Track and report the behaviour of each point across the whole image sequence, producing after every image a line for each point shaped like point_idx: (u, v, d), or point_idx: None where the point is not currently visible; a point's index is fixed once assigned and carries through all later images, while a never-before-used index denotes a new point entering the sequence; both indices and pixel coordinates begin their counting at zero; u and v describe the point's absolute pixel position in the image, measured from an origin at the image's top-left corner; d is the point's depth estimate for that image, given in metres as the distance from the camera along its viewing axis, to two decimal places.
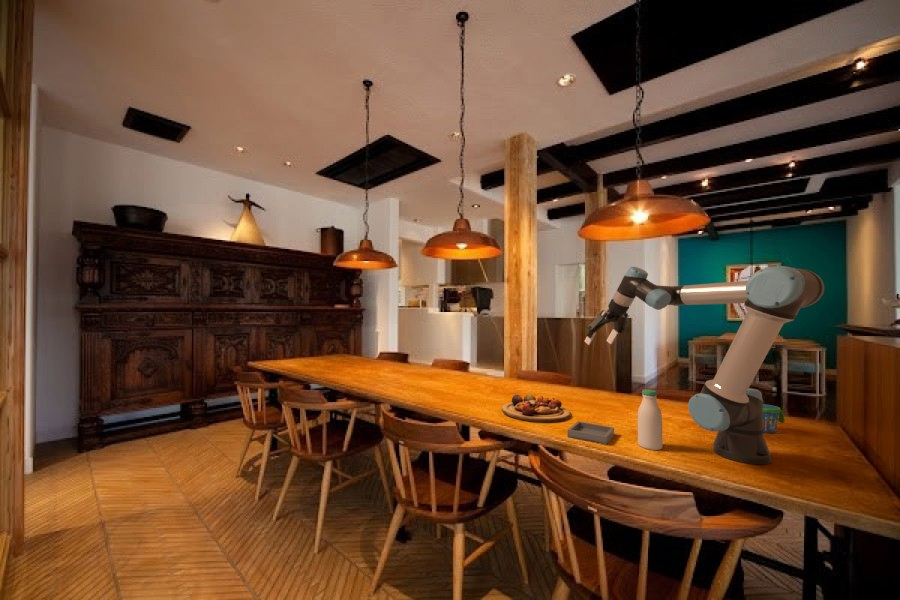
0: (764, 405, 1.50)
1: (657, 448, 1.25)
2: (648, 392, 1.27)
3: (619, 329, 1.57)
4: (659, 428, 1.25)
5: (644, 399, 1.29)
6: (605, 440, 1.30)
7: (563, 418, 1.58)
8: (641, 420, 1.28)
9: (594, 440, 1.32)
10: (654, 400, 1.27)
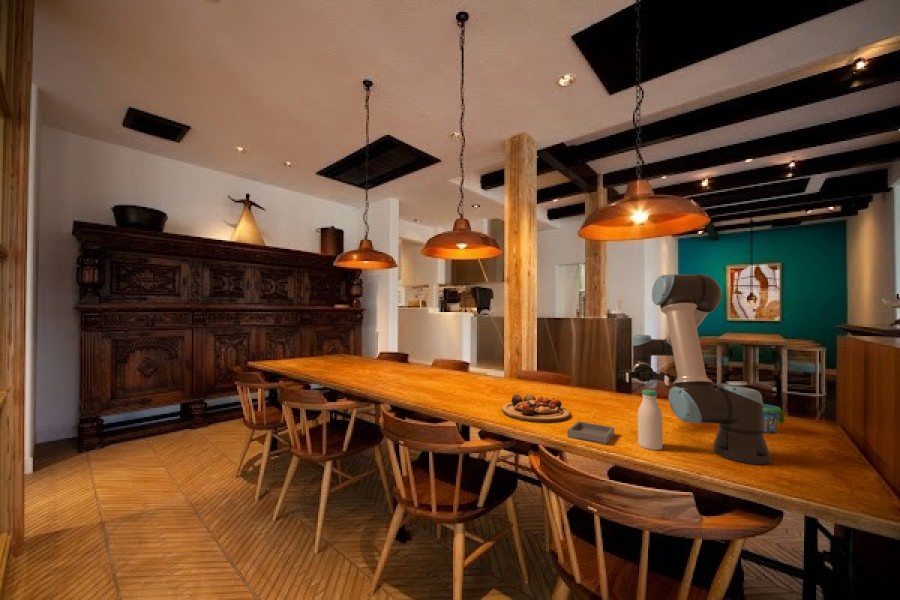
0: (764, 405, 1.50)
1: (657, 448, 1.25)
2: (648, 392, 1.27)
3: (665, 375, 1.42)
4: (659, 428, 1.25)
5: (644, 399, 1.29)
6: (605, 440, 1.30)
7: (563, 418, 1.58)
8: (641, 420, 1.28)
9: (594, 440, 1.32)
10: (654, 400, 1.27)
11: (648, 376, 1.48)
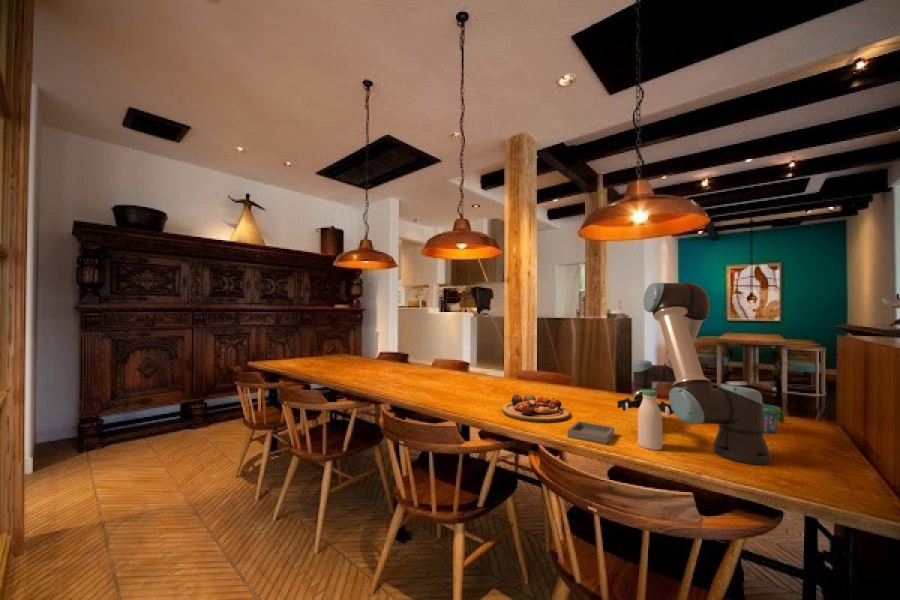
0: (764, 405, 1.50)
1: (657, 448, 1.25)
2: (648, 392, 1.27)
3: (666, 406, 1.38)
4: (659, 428, 1.25)
5: (644, 399, 1.29)
6: (605, 440, 1.30)
7: (563, 418, 1.58)
8: (641, 420, 1.28)
9: (594, 440, 1.32)
10: (654, 400, 1.27)
11: None
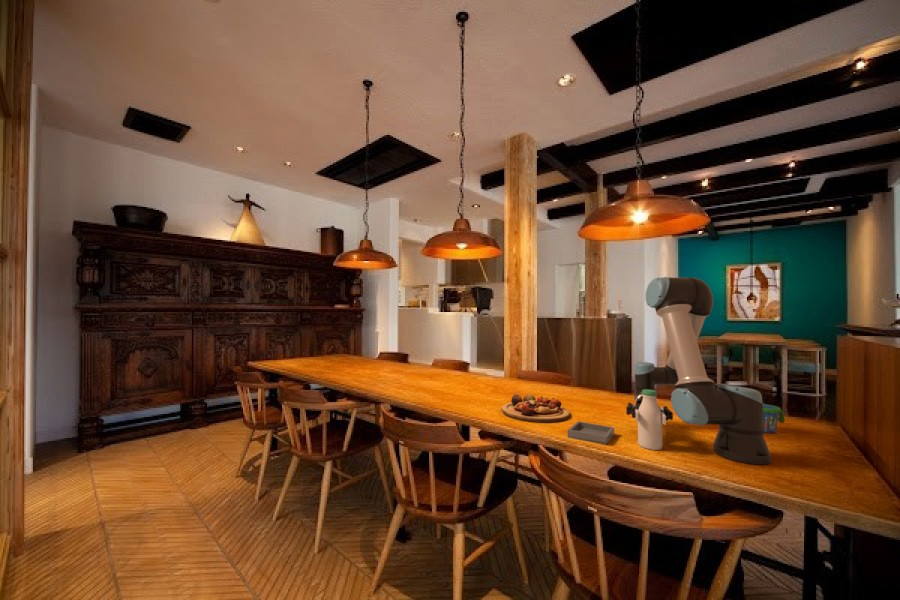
0: (764, 405, 1.50)
1: (657, 448, 1.25)
2: (648, 392, 1.27)
3: (663, 411, 1.30)
4: (659, 428, 1.25)
5: (644, 399, 1.29)
6: (605, 440, 1.30)
7: (562, 418, 1.58)
8: (641, 420, 1.28)
9: (594, 440, 1.32)
10: (654, 400, 1.27)
11: None
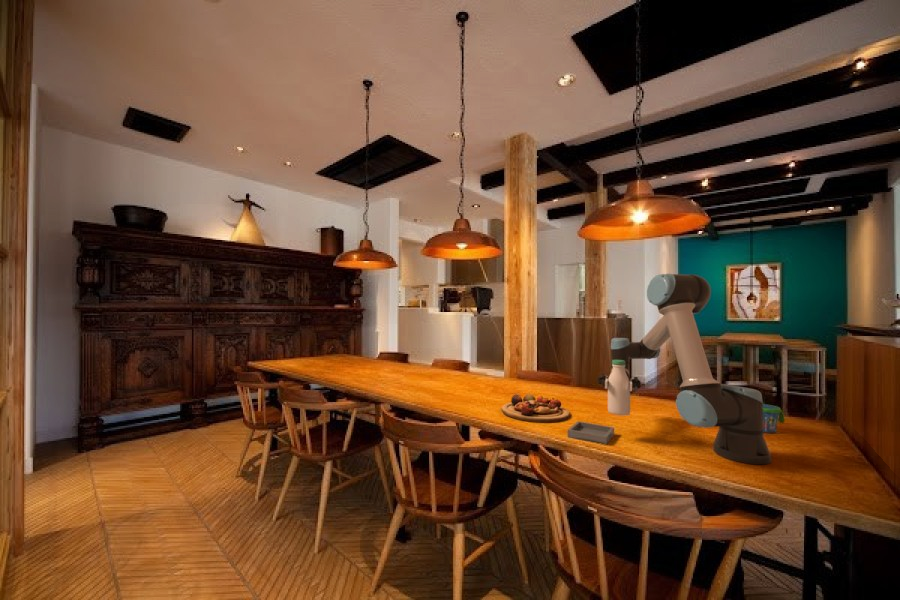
0: (764, 405, 1.50)
1: (624, 413, 1.32)
2: (617, 361, 1.35)
3: (631, 380, 1.38)
4: (626, 395, 1.33)
5: (613, 368, 1.36)
6: (605, 440, 1.30)
7: (562, 418, 1.58)
8: (610, 388, 1.35)
9: (594, 440, 1.32)
10: (622, 369, 1.35)
11: None
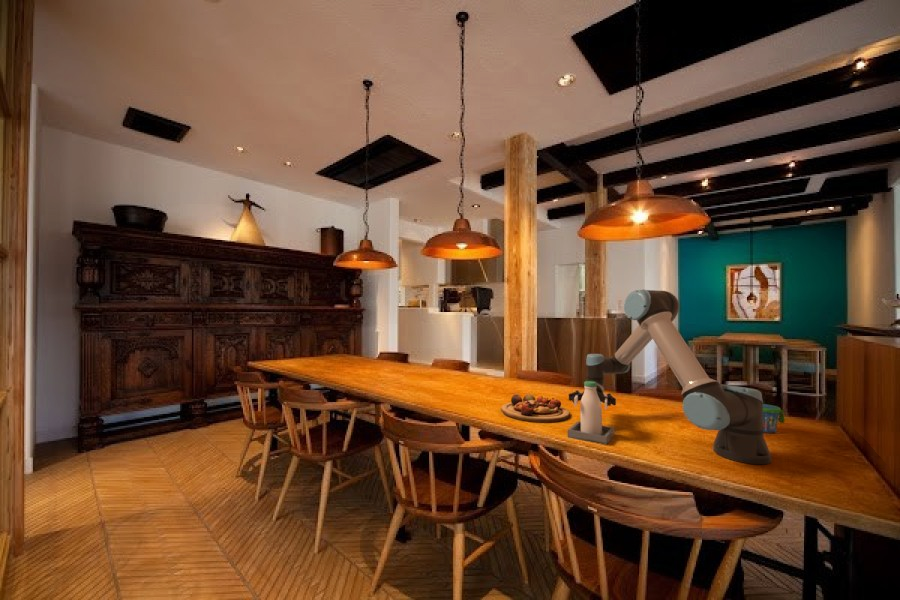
0: (764, 405, 1.50)
1: None
2: (588, 383, 1.38)
3: (607, 397, 1.41)
4: (598, 416, 1.36)
5: (585, 390, 1.40)
6: (605, 440, 1.30)
7: (562, 418, 1.58)
8: (582, 409, 1.39)
9: (594, 440, 1.32)
10: (594, 391, 1.38)
11: None
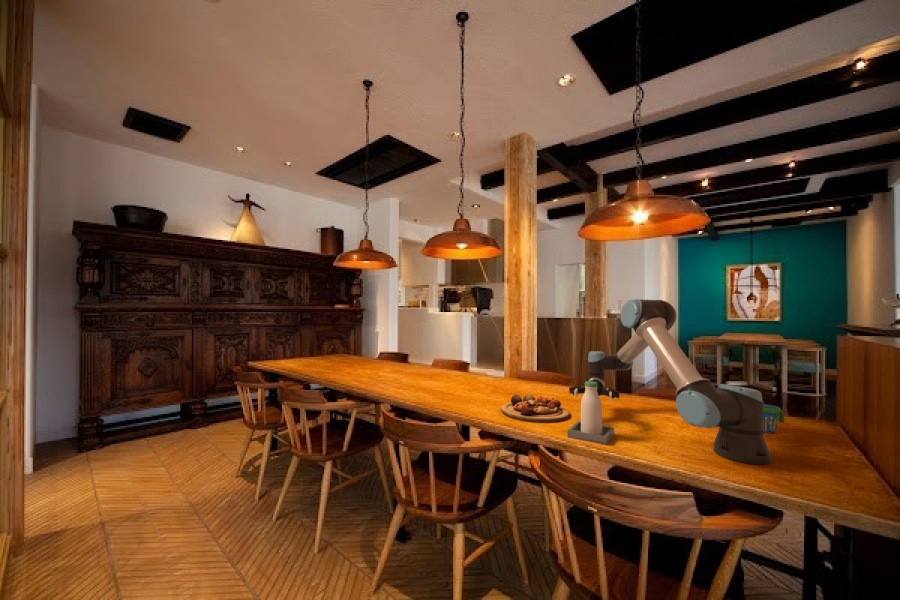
0: (764, 405, 1.50)
1: None
2: (589, 383, 1.38)
3: (610, 391, 1.53)
4: (598, 416, 1.36)
5: (586, 390, 1.40)
6: (605, 440, 1.30)
7: (562, 418, 1.58)
8: (583, 409, 1.39)
9: (594, 440, 1.32)
10: (594, 391, 1.38)
11: (597, 392, 1.59)
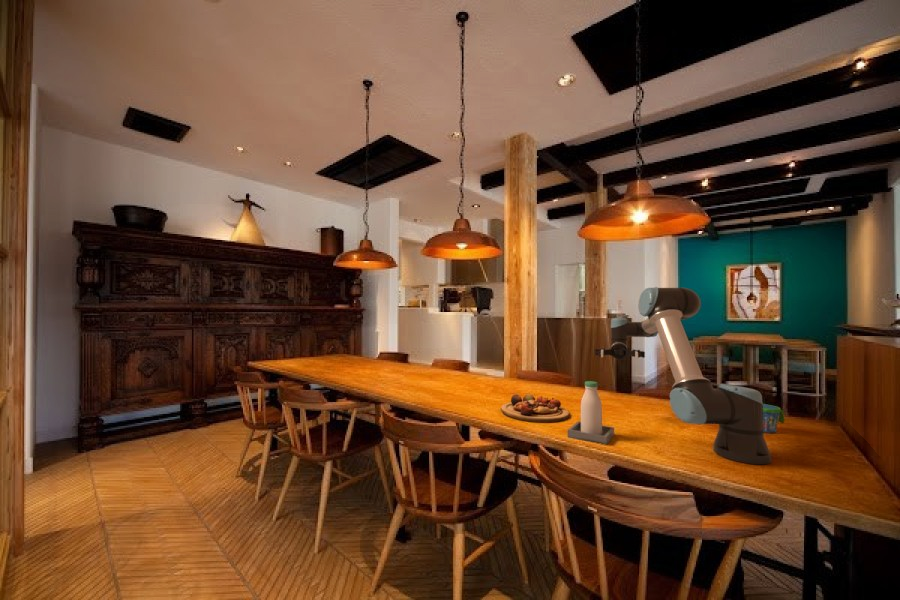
0: (764, 405, 1.50)
1: None
2: (589, 383, 1.38)
3: (636, 351, 1.58)
4: (598, 416, 1.36)
5: (586, 390, 1.40)
6: (605, 440, 1.30)
7: (562, 418, 1.58)
8: (583, 409, 1.39)
9: (594, 440, 1.32)
10: (594, 391, 1.38)
11: (622, 353, 1.64)
